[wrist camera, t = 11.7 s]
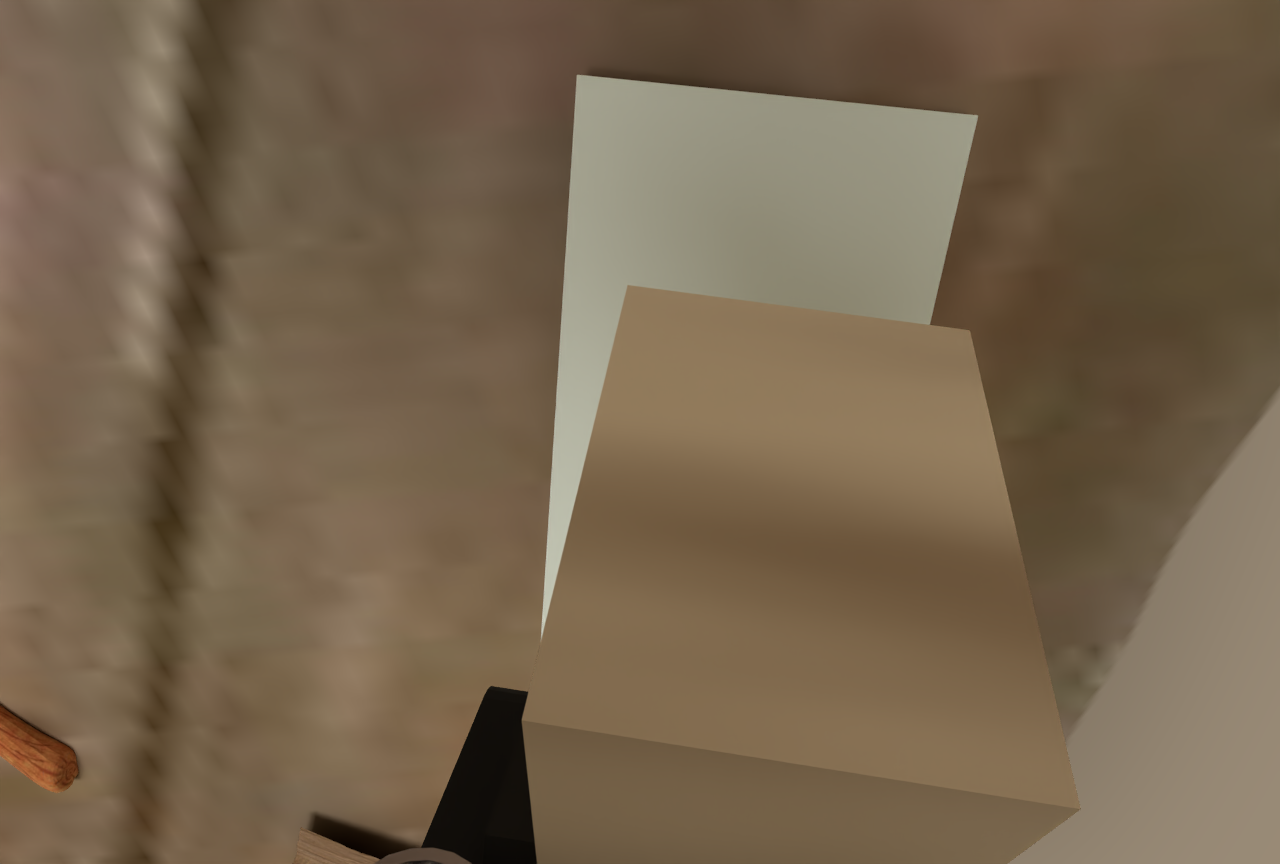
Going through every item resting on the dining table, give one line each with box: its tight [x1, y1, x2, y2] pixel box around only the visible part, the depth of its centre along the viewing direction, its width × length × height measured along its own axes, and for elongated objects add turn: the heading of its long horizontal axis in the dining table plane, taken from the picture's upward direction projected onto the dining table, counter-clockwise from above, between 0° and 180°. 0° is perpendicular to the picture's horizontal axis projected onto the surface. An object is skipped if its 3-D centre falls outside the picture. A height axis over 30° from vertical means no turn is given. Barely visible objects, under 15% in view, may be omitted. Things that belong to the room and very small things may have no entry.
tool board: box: [541, 75, 978, 639], centre depth 24 cm, size 22×10×1 cm, turn 174°
